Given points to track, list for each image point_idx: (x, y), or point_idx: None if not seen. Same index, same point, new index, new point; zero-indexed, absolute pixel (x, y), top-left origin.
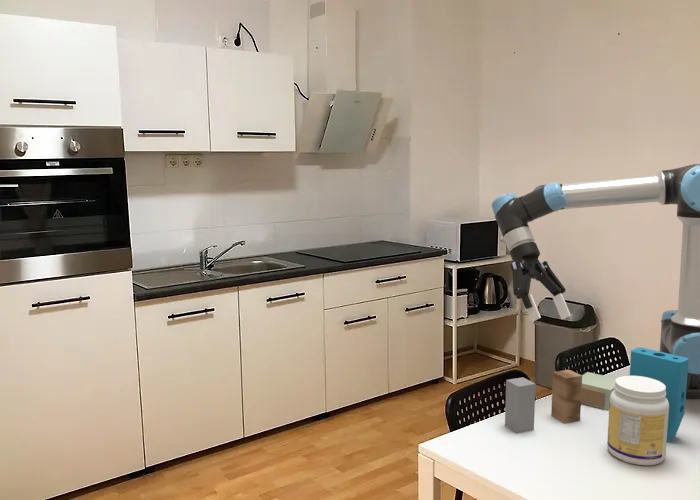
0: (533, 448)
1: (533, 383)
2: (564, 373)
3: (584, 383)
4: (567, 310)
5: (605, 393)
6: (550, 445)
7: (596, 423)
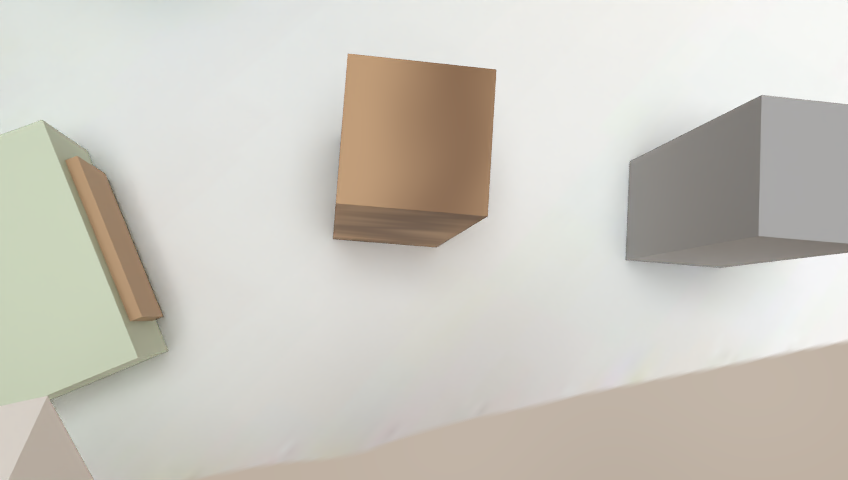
0: (751, 23)
1: (771, 106)
2: (432, 151)
3: (101, 292)
4: (6, 472)
5: (64, 158)
6: (667, 8)
7: (292, 70)
